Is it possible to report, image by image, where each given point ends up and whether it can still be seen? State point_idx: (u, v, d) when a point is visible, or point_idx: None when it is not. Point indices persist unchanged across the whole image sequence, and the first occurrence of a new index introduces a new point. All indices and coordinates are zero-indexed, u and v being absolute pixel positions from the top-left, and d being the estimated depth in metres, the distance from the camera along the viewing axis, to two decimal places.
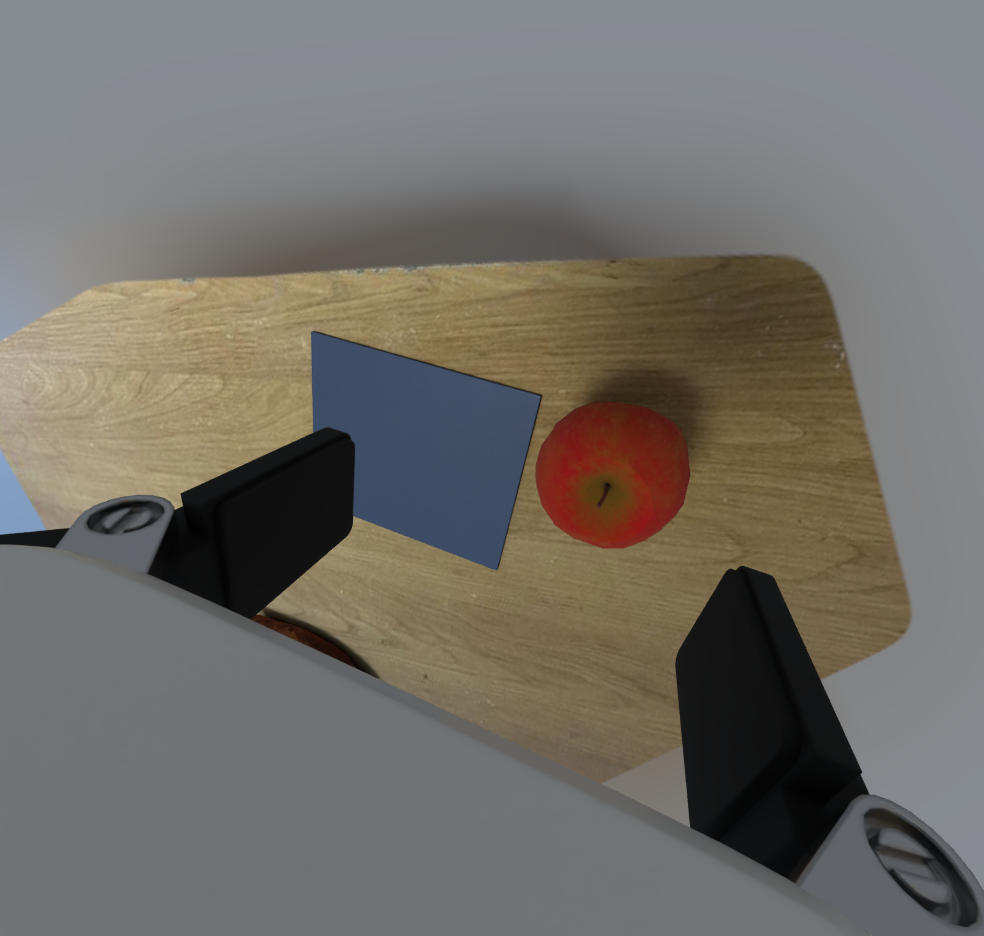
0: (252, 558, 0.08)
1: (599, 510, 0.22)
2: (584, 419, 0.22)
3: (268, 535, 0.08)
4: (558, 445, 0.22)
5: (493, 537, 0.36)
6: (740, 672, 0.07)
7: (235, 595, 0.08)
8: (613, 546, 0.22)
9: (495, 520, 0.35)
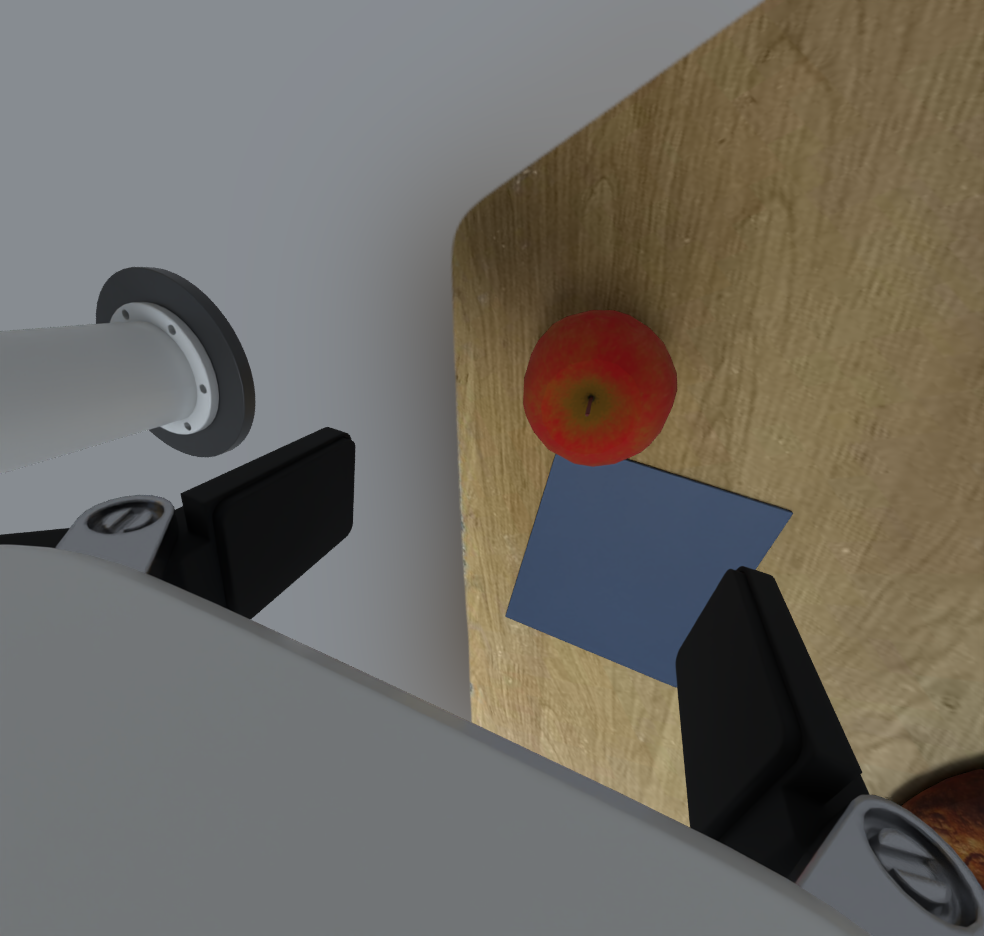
0: (252, 558, 0.08)
1: (610, 408, 0.21)
2: None
3: (268, 535, 0.08)
4: (544, 443, 0.23)
5: (734, 509, 0.30)
6: (740, 672, 0.07)
7: (235, 595, 0.08)
8: (651, 395, 0.19)
9: (708, 502, 0.30)
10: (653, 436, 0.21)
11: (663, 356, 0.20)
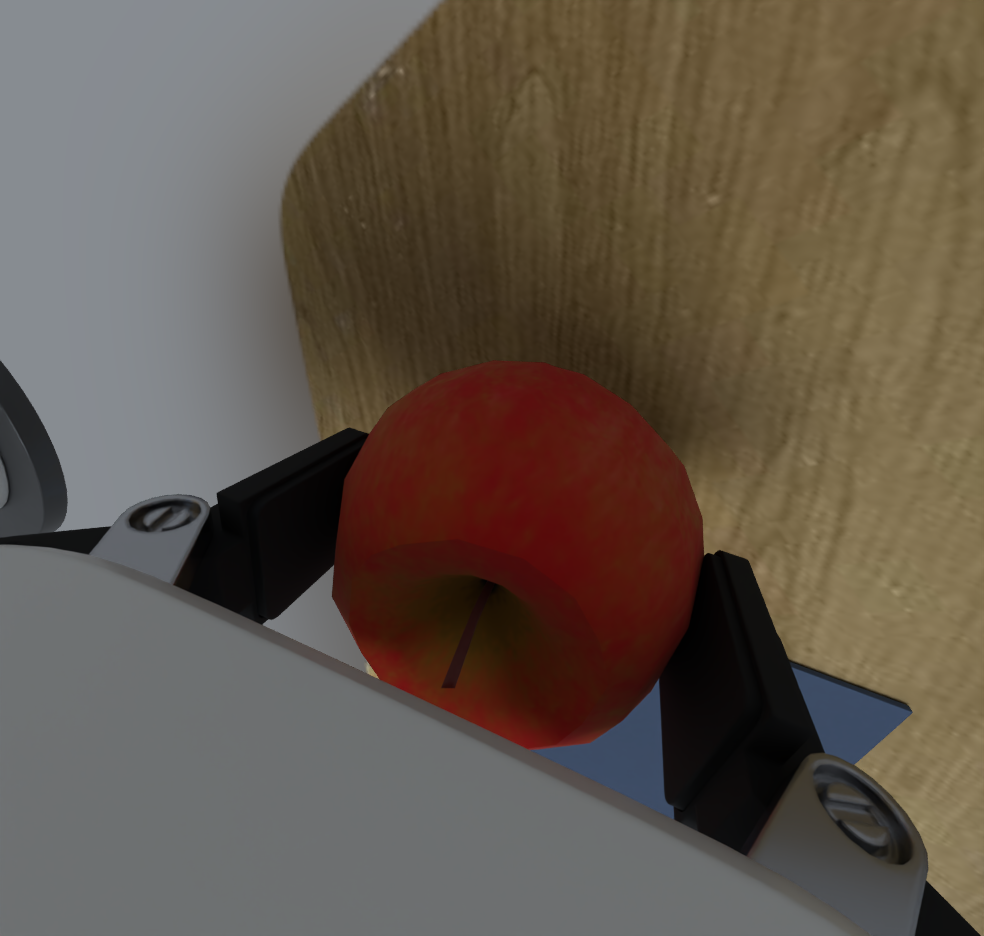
0: (281, 556, 0.08)
1: (529, 635, 0.08)
2: None
3: (296, 534, 0.08)
4: None
5: None
6: (712, 648, 0.07)
7: (265, 592, 0.08)
8: (637, 640, 0.06)
9: None
10: (646, 695, 0.08)
11: (669, 499, 0.07)
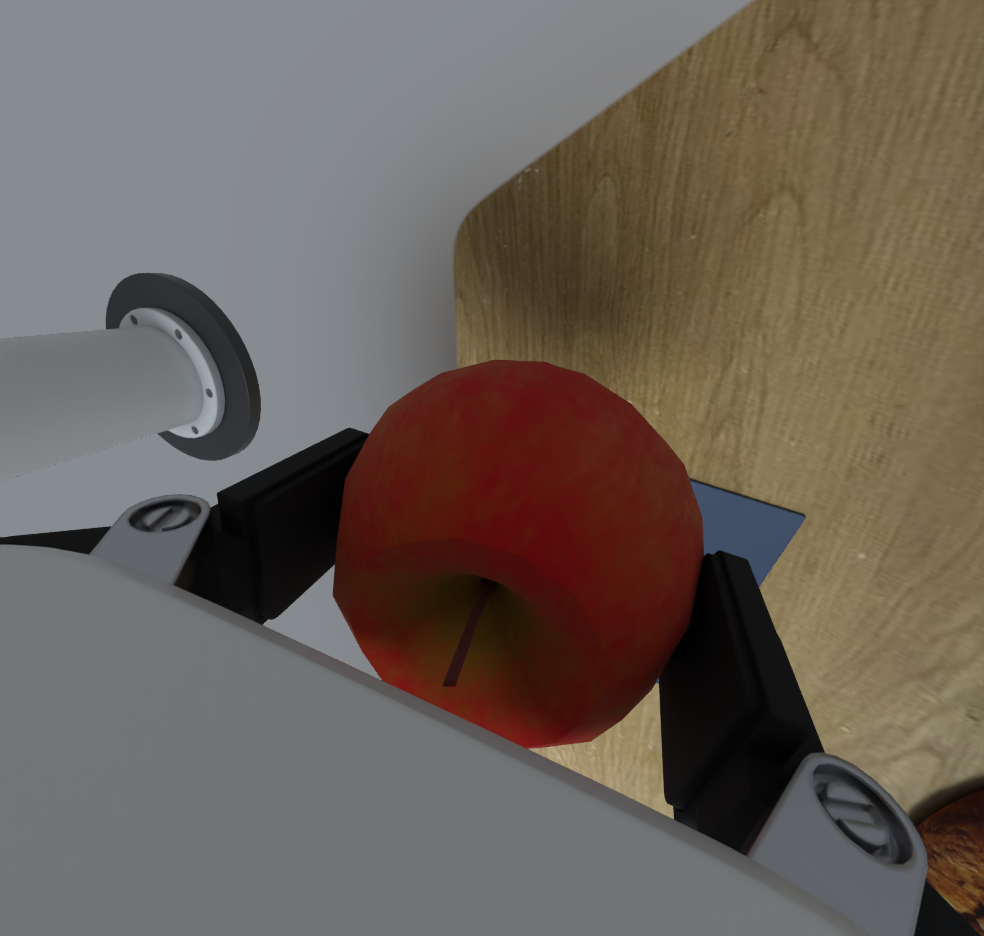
0: (282, 556, 0.08)
1: (530, 634, 0.08)
2: None
3: (296, 534, 0.08)
4: None
5: (744, 512, 0.29)
6: (711, 647, 0.07)
7: (266, 592, 0.08)
8: (637, 638, 0.06)
9: (717, 505, 0.29)
10: (646, 694, 0.08)
11: (669, 498, 0.07)
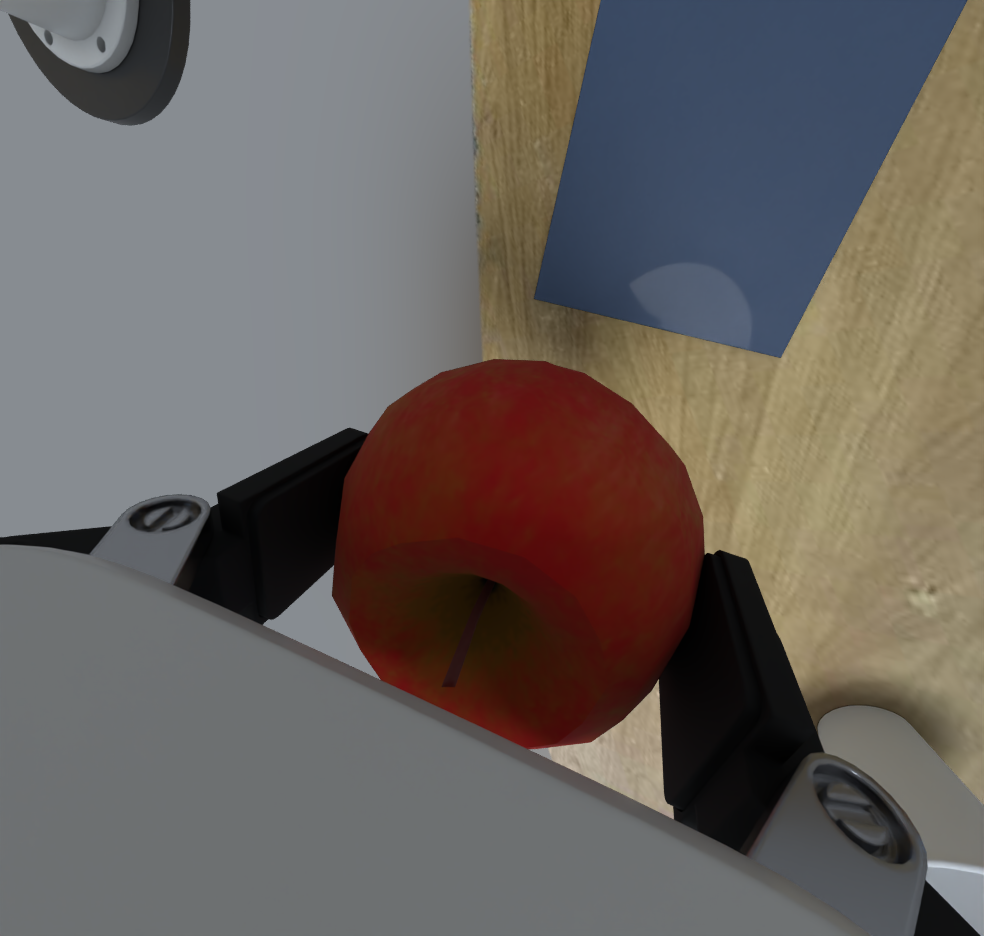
0: (282, 556, 0.08)
1: (530, 634, 0.08)
2: None
3: (297, 533, 0.08)
4: None
5: None
6: (711, 647, 0.07)
7: (266, 592, 0.08)
8: (638, 639, 0.06)
9: None
10: (647, 694, 0.08)
11: (670, 498, 0.07)
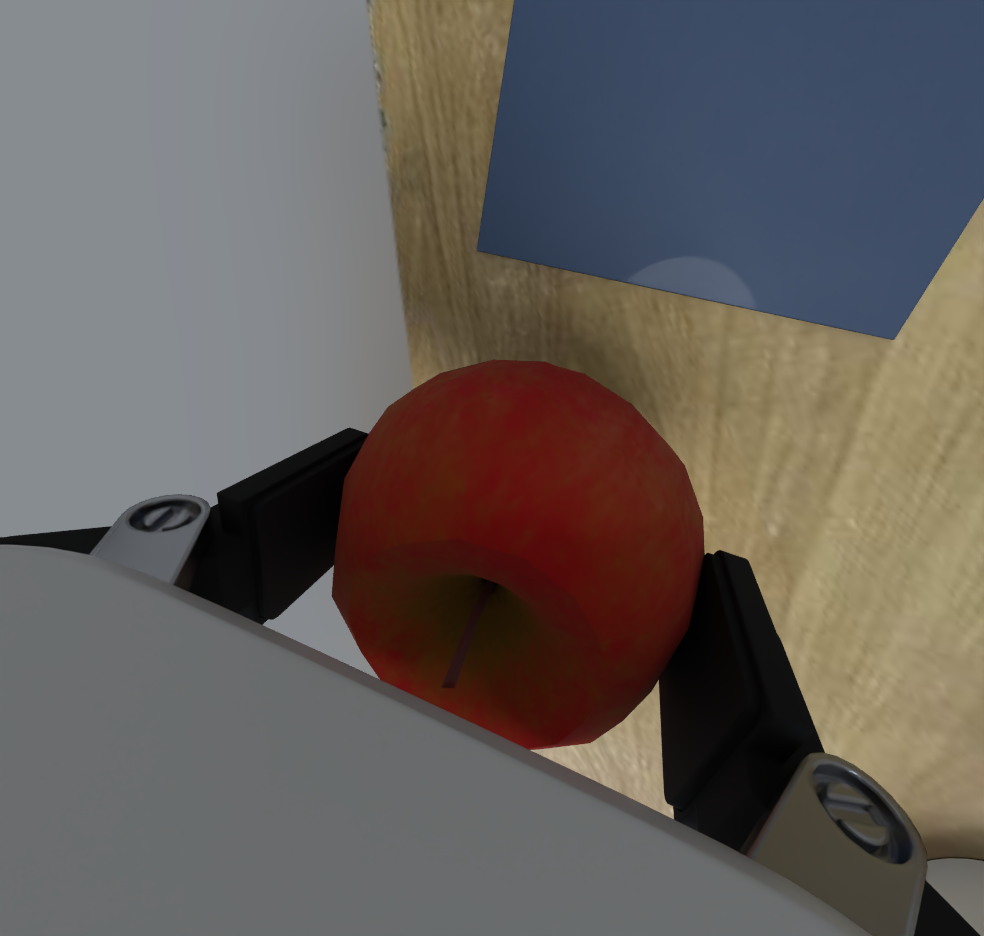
0: (282, 556, 0.08)
1: (530, 634, 0.08)
2: None
3: (297, 534, 0.08)
4: None
5: None
6: (712, 647, 0.07)
7: (266, 592, 0.08)
8: (637, 640, 0.06)
9: None
10: None
11: (670, 499, 0.07)
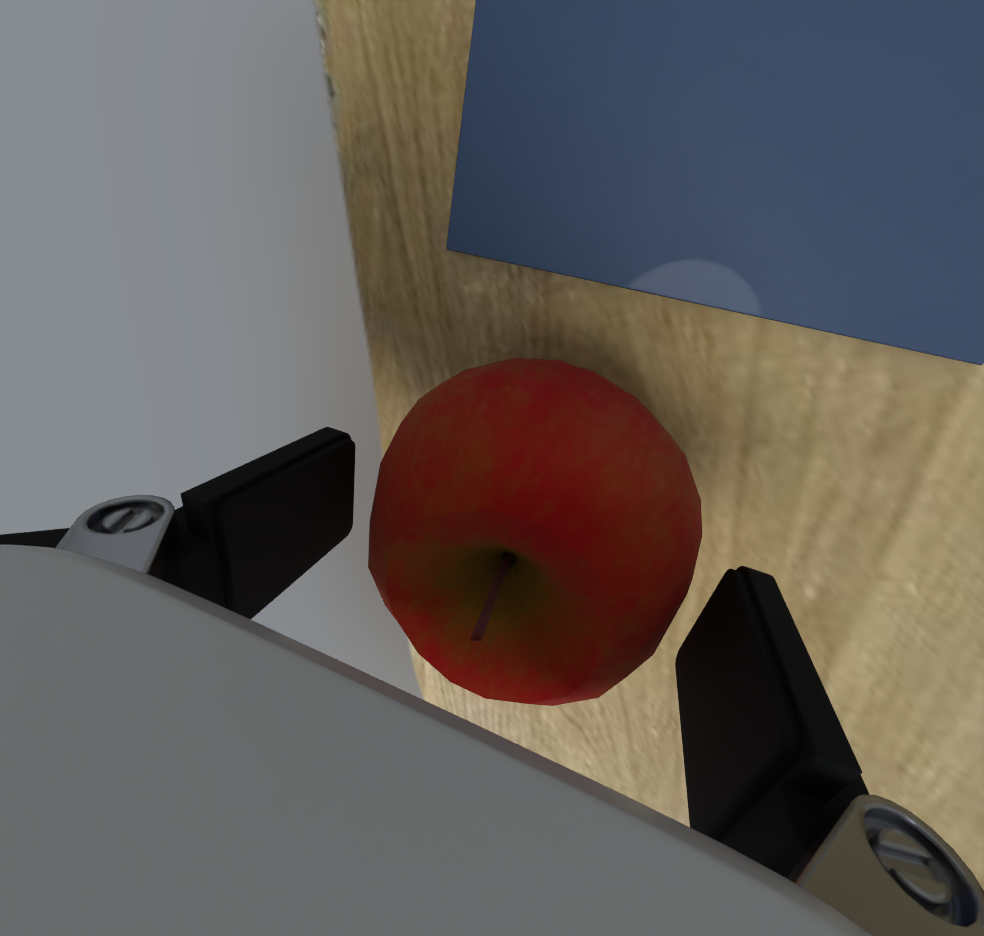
0: (252, 558, 0.08)
1: (545, 600, 0.09)
2: None
3: (268, 535, 0.08)
4: None
5: None
6: (740, 672, 0.07)
7: (235, 595, 0.08)
8: (641, 599, 0.07)
9: None
10: (649, 657, 0.09)
11: (670, 480, 0.08)
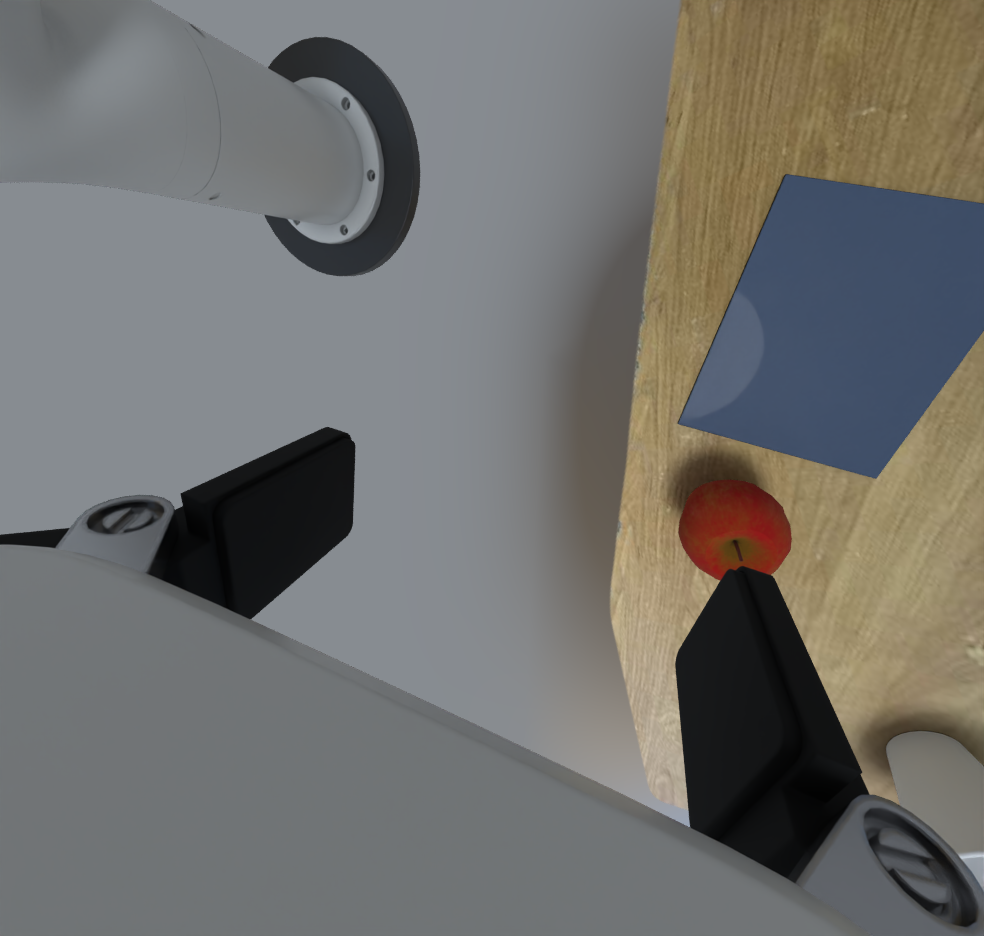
0: (252, 558, 0.08)
1: (751, 552, 0.33)
2: (684, 546, 0.36)
3: (268, 535, 0.08)
4: (699, 566, 0.35)
5: None
6: (740, 672, 0.07)
7: (235, 595, 0.08)
8: (783, 550, 0.31)
9: (960, 222, 0.28)
10: (777, 568, 0.33)
11: (786, 521, 0.32)
